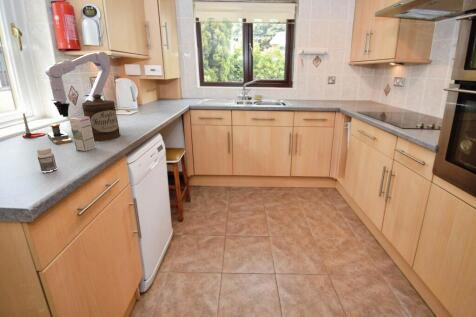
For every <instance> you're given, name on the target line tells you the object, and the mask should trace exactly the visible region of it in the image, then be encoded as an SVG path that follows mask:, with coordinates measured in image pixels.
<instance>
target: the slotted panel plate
mask: <svg viewBox="0 0 476 317" xmlns="http://www.w3.org/2000/svg"><path fill="white" fill-rule="evenodd" d="M60 132H61V135H60V136H54V135H53V131H52V132H51V131H50V132H47V138H48V139H49V140H50V141H51V142H52V143H53V144H54V145H61V144H68V143H72V142H73V140H72V138H71V137H69V134H67V133H66V132H65V131H64V130H60Z"/></svg>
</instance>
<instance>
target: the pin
mask: <svg viewBox="0 0 476 317" xmlns="http://www.w3.org/2000/svg"><path fill="white" fill-rule="evenodd" d="M60 126H61V124H60V123H54V124H53V123H52V124H50V125H49V127H51V130H52V132H53V135H54V136H60V135H61V132H60V131H61V130H60V129H61V128H60Z"/></svg>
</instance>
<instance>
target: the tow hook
mask: <svg viewBox="0 0 476 317" xmlns="http://www.w3.org/2000/svg"><path fill="white" fill-rule="evenodd" d="M22 117H23V124H24V127H25V128H24V130H25V134H22V138H25V139H35V138H37V137H38V138H40V137H43V136H45V135H46V133H45V132H34V133H33V132H31V130H30V127H29V124H28V119H27V117H26V114H25V112H24V113H22Z"/></svg>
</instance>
